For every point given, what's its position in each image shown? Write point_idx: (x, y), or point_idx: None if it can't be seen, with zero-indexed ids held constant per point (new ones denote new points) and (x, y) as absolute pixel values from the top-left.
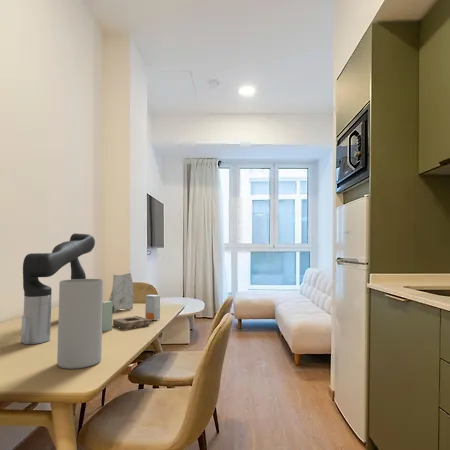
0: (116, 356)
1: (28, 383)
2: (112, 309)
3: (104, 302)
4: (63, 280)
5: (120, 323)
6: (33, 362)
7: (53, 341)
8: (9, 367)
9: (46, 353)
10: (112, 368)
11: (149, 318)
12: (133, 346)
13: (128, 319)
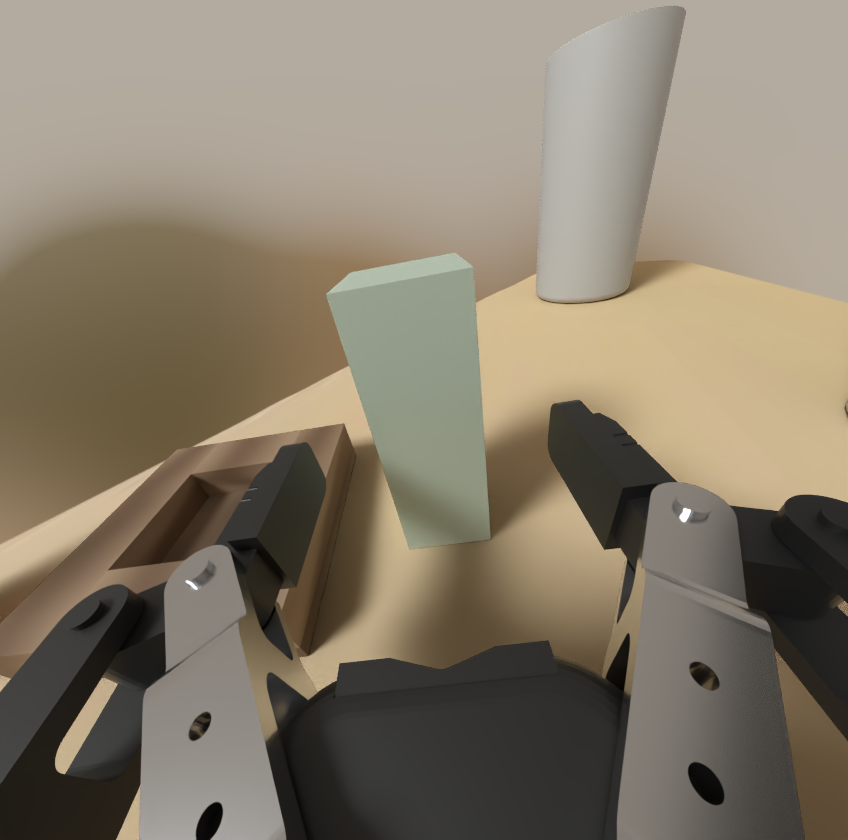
0: (503, 303)
1: (652, 267)
2: (296, 445)
3: (438, 257)
4: (679, 11)
5: (333, 477)
6: (704, 294)
7: (791, 403)
8: (759, 284)
9: (705, 319)
10: (521, 285)
11: None
12: None
13: (175, 567)
